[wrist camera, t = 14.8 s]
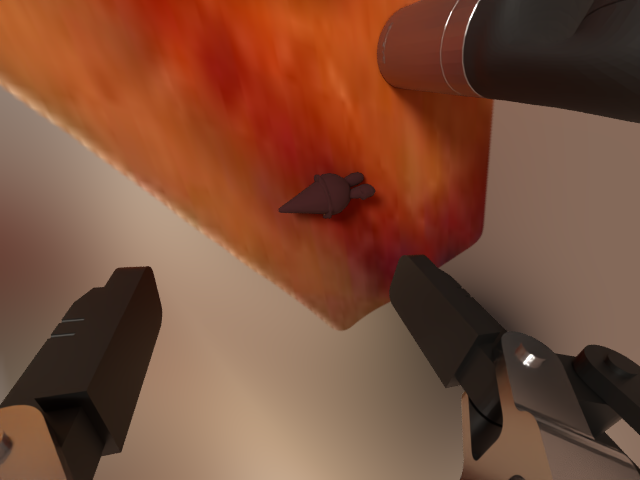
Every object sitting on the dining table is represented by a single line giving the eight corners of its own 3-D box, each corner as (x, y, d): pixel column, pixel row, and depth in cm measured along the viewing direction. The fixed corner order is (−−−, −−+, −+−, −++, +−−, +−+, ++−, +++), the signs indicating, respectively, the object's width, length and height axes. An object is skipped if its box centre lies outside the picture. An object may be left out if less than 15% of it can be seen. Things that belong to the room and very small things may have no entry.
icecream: (289, 243, 41) (378, 213, 43) (279, 206, 35) (381, 174, 38) (278, 214, 45) (358, 188, 48) (267, 178, 40) (359, 151, 42)
